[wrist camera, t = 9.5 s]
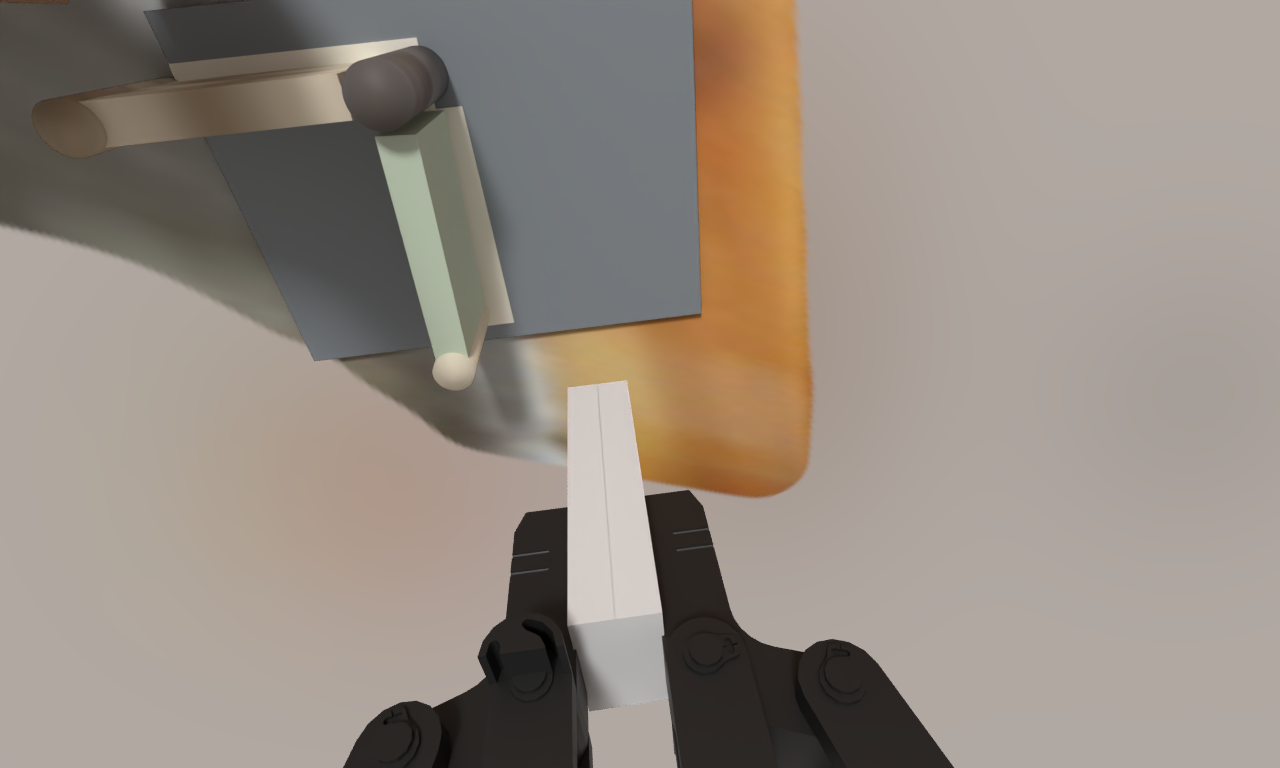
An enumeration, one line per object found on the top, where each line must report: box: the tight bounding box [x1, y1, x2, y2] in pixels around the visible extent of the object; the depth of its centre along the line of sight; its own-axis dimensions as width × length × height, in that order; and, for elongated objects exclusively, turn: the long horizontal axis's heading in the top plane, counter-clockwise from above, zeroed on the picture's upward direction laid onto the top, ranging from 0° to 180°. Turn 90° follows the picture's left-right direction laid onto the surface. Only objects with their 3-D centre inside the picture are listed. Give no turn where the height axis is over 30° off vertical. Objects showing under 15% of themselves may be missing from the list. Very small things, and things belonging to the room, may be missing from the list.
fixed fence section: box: [32, 45, 449, 158], centre depth 24 cm, size 14×2×8 cm, turn 95°
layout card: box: [143, 0, 701, 361], centre depth 30 cm, size 24×18×1 cm
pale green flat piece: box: [375, 110, 490, 391], centre depth 28 cm, size 12×2×6 cm, turn 2°
